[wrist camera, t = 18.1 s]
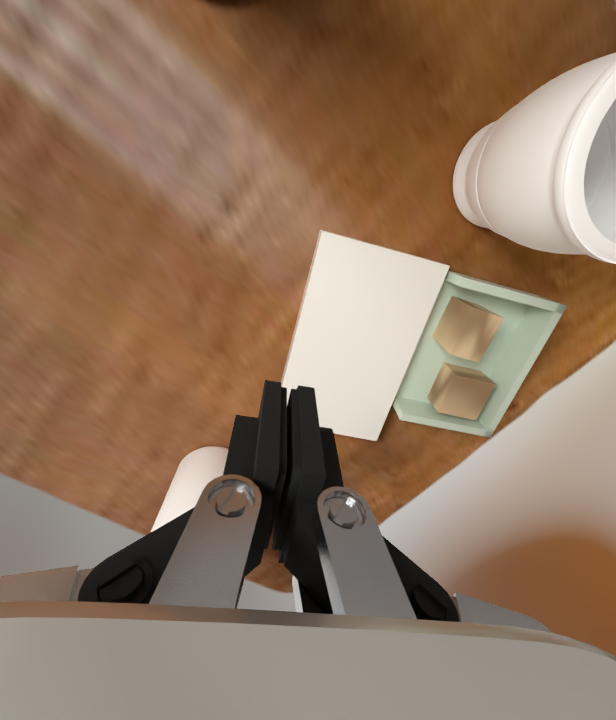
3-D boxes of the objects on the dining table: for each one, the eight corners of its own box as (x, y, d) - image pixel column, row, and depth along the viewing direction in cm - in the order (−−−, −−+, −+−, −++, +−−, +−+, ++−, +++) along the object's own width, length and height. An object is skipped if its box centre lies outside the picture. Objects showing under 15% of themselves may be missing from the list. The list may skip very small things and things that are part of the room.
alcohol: (205, 429, 39) (11, 949, 12) (266, 465, 42) (223, 956, 15) (165, 476, 42) (-68, 990, 14) (226, 507, 44) (125, 990, 17)
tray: (443, 269, 33) (462, 277, 29) (537, 294, 34) (567, 305, 31) (389, 399, 39) (400, 419, 35) (472, 416, 40) (490, 437, 36)
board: (320, 229, 31) (322, 230, 29) (441, 262, 32) (450, 266, 31) (273, 411, 38) (272, 421, 37) (372, 430, 40) (376, 441, 38)
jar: (585, 150, 29) (846, 104, 15) (503, 260, 33) (656, 300, 19) (493, 73, 26) (708, -64, 13) (415, 201, 30) (519, 200, 16)
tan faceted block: (474, 308, 29) (504, 318, 30) (451, 295, 33) (478, 304, 34) (450, 354, 31) (478, 362, 31) (431, 336, 35) (457, 344, 36)
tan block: (496, 384, 34) (480, 370, 37) (456, 374, 34) (443, 362, 36) (475, 420, 36) (462, 405, 39) (437, 412, 35) (427, 397, 38)
